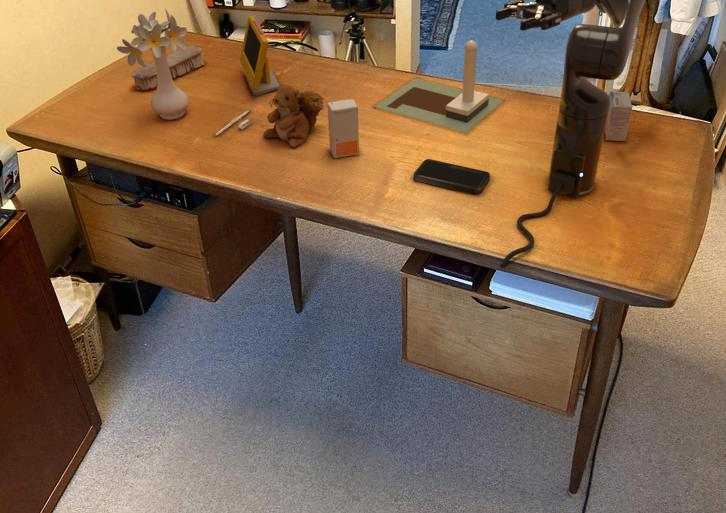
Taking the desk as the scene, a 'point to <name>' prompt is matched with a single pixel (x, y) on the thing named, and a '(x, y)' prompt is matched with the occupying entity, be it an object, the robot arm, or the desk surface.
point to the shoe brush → (177, 66)
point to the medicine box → (618, 116)
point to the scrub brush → (468, 90)
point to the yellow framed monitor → (257, 59)
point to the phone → (452, 176)
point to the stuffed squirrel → (293, 114)
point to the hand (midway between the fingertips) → (508, 21)
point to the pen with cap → (241, 126)
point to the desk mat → (431, 104)
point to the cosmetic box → (343, 128)
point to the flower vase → (159, 61)
